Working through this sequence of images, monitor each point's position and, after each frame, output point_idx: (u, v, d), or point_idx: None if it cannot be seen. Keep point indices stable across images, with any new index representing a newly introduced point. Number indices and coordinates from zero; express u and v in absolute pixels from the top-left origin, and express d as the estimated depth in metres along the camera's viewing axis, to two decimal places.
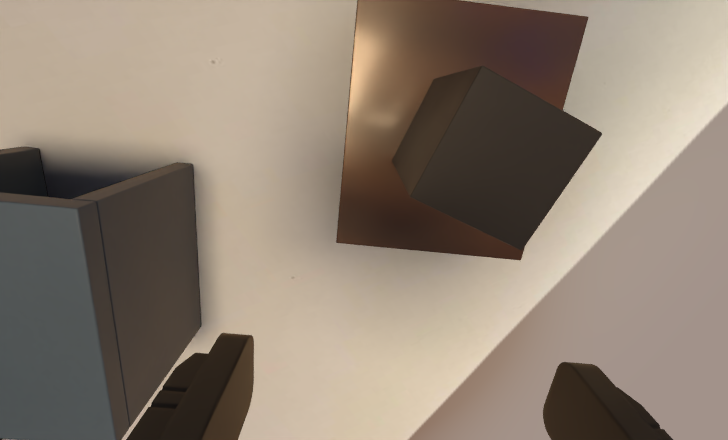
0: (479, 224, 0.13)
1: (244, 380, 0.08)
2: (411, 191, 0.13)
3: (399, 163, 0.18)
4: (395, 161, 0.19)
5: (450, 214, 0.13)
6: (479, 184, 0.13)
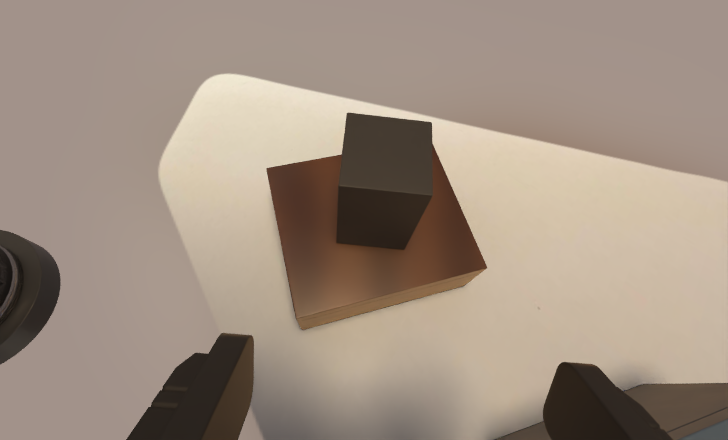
0: (428, 150, 0.20)
1: (244, 380, 0.08)
2: (428, 197, 0.18)
3: (406, 234, 0.23)
4: (405, 242, 0.24)
5: (431, 168, 0.19)
6: (405, 159, 0.19)
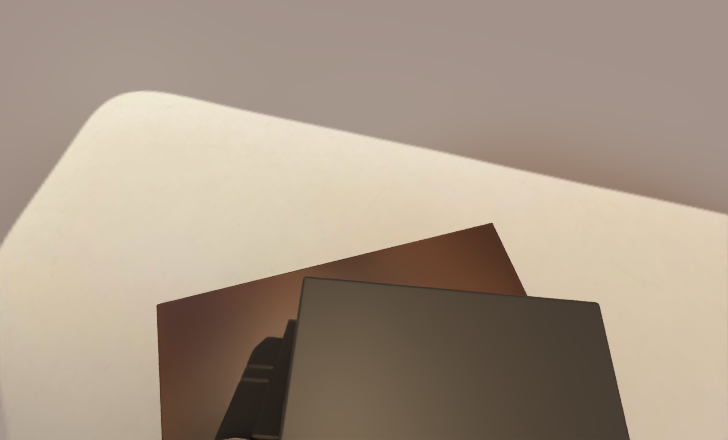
0: None
1: None
2: None
3: None
4: None
5: None
6: None
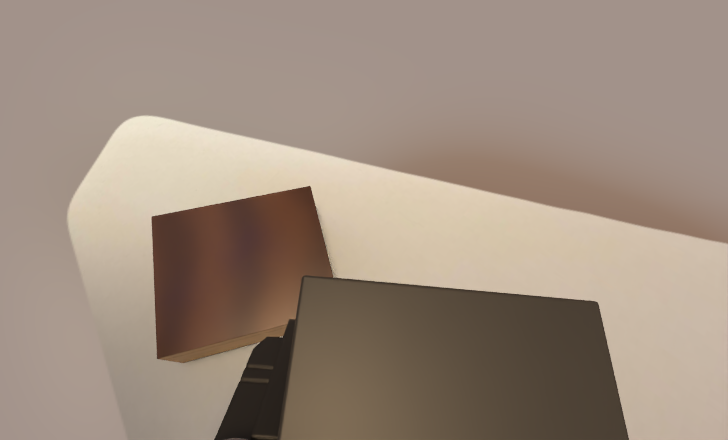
0: None
1: None
2: None
3: None
4: None
5: None
6: None
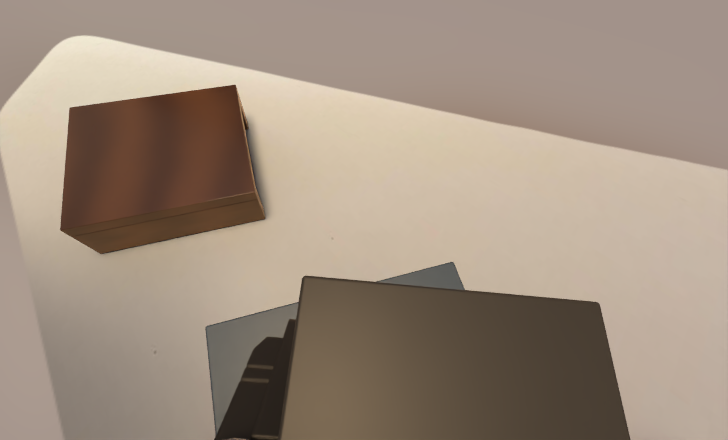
0: None
1: None
2: None
3: None
4: None
5: None
6: None
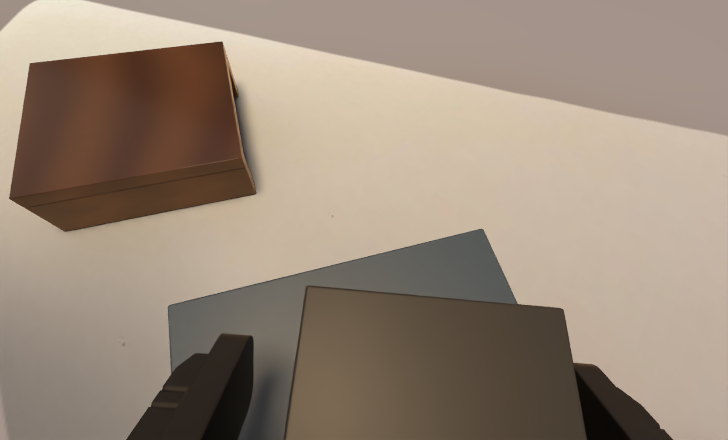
0: (575, 433, 0.06)
1: (244, 380, 0.08)
2: None
3: None
4: None
5: None
6: None
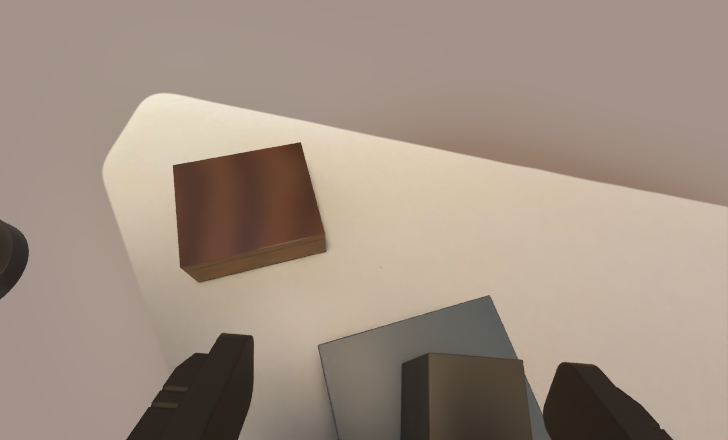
0: (524, 405, 0.17)
1: (244, 380, 0.08)
2: None
3: None
4: None
5: (530, 433, 0.17)
6: (500, 422, 0.17)
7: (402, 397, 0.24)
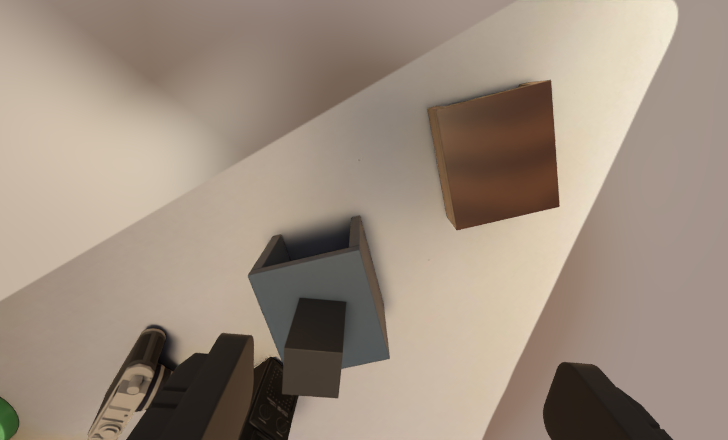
0: (314, 395, 0.31)
1: (244, 380, 0.08)
2: None
3: None
4: None
5: (301, 395, 0.31)
6: (306, 382, 0.31)
7: (325, 302, 0.37)
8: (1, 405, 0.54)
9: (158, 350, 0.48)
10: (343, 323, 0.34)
